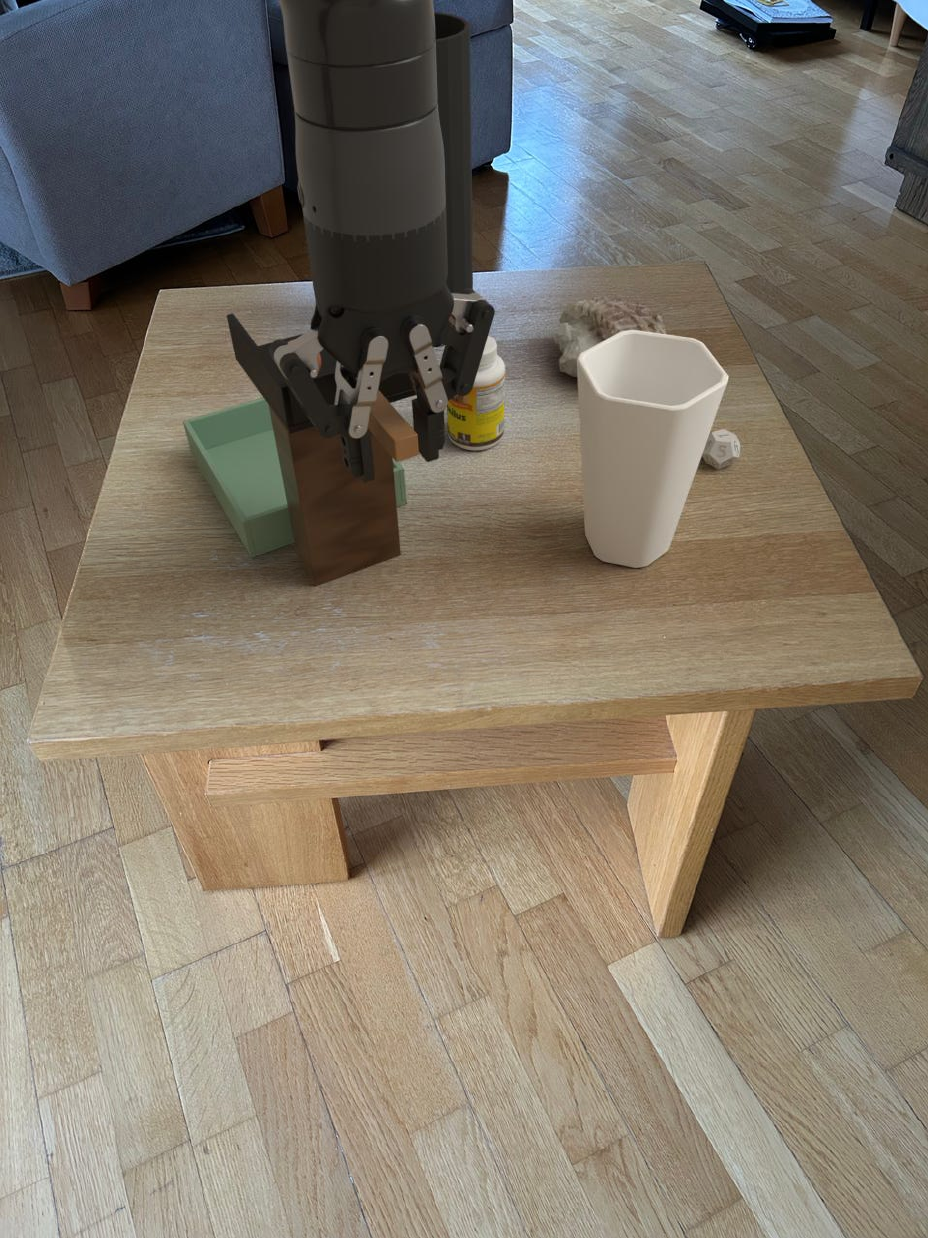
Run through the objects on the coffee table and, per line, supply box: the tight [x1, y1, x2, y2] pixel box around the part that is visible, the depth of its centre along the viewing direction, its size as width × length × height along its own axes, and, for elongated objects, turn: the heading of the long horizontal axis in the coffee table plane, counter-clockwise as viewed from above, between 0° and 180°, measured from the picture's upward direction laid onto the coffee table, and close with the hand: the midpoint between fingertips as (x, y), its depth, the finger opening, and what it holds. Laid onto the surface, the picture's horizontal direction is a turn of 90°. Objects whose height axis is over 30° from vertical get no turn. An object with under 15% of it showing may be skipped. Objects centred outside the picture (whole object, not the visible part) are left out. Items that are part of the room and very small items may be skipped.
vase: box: [433, 11, 474, 347], centre depth 99 cm, size 10×10×30 cm
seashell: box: [553, 295, 668, 378], centre depth 100 cm, size 14×9×10 cm
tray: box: [182, 397, 408, 558], centre depth 88 cm, size 15×17×4 cm
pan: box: [226, 313, 420, 463], centre depth 65 cm, size 10×19×4 cm, turn 28°
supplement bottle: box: [446, 335, 506, 451], centre depth 90 cm, size 6×6×10 cm
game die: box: [701, 428, 741, 470], centre depth 90 cm, size 4×4×3 cm
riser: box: [269, 406, 402, 587], centre depth 76 cm, size 8×4×18 cm, turn 118°
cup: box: [577, 330, 729, 569], centre depth 77 cm, size 11×10×17 cm
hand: (395, 463), depth 62 cm, fingers open, 4 cm apart
